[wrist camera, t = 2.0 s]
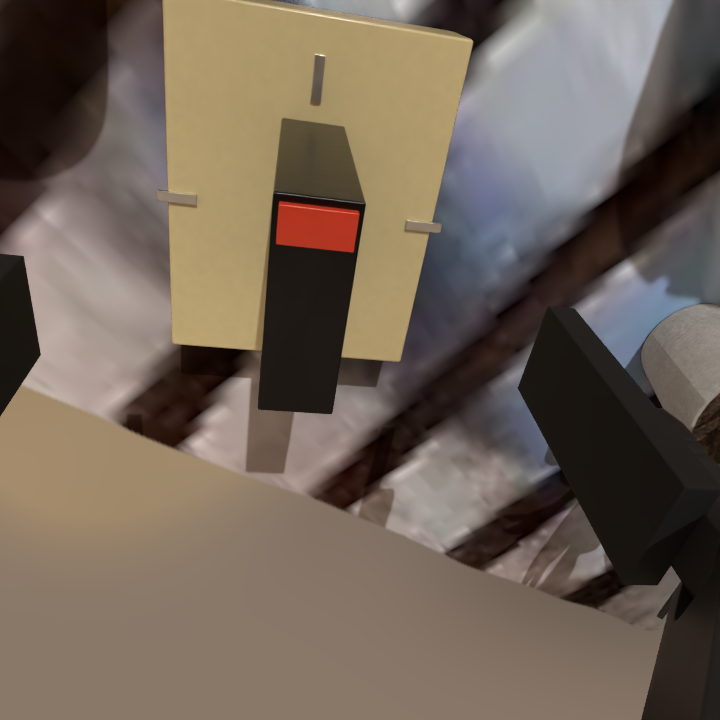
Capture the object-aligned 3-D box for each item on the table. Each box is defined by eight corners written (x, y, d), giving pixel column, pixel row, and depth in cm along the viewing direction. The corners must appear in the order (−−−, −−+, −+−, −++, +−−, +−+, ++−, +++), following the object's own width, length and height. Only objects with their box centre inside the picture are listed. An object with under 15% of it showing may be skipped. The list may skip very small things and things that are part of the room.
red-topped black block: (323, 291, 24) (332, 420, 17) (269, 286, 24) (257, 415, 17) (344, 126, 20) (367, 206, 14) (282, 117, 20) (272, 195, 13)
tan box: (398, 329, 29) (408, 365, 26) (175, 309, 27) (162, 346, 25) (463, 33, 22) (485, 42, 19) (167, -18, 20) (148, -16, 18)
